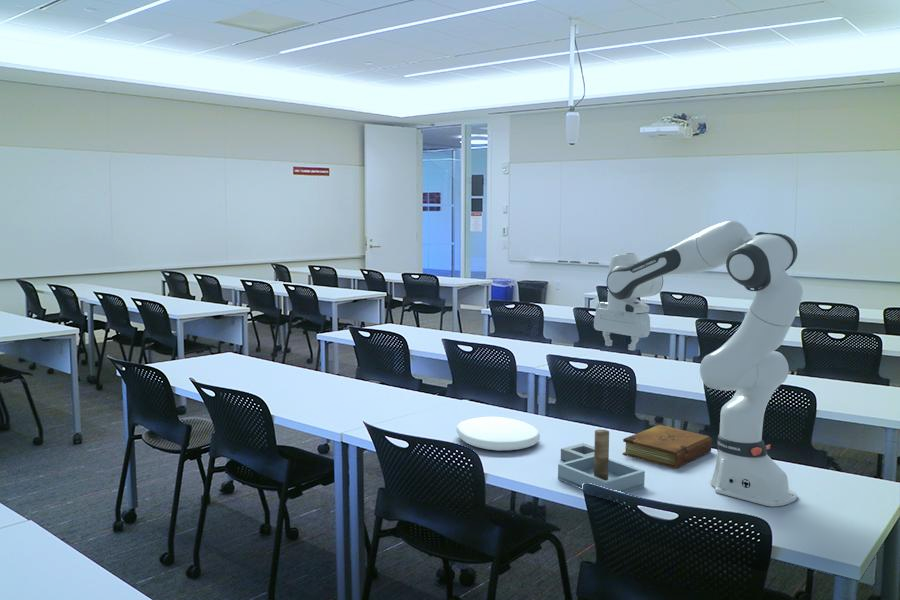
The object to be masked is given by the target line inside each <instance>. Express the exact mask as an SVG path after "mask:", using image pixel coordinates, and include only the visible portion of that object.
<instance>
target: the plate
mask: <svg viewBox="0 0 900 600" xmlns="http://www.w3.org/2000/svg"><path fill="white" fill-rule="evenodd" d="M455 429H456V431H455V432H456V433H457V435H458V437H459V438H460V439H461V440H462V441H463V442H464V443H466V444H469V445H470V446H473V447H476V448H479V449H485V450H490V451H497V452H499V451H513V450H514V451H515V450H521V449H526V448H529V447H532V446H534V445H536V444H537V443H538V442H539V441H540V437H541V436H540V432H539V431H538V429H537V428H536V427H534V426H533V425H532V424H529V423H527V422H525V421H522V420H518V419H515V418H509V417H503V416H482V417H481V416H480V417H474V418H473V417H472V418H470V419H465V420H462V421H461V422H459V423H458V424H457V426H456V428H455Z"/></svg>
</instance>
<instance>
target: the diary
mask: <svg viewBox="0 0 900 600" xmlns="http://www.w3.org/2000/svg"><path fill="white" fill-rule="evenodd" d="M712 442H713V441H712V437H710V436H709V435H707V434H706V435H705V434H701V433H696V432H694V431H693V432H692V431H688V430H684V429H683V430H682V429H679V428H676V427H671V426H666V425H662V424H658V425H655V426H652V427H650V428H648V429H645V430H642V431H640V432H638V433H635V434H632V435H630V436H627V437H624V438H623V439H622V443H625V452H622V455H623V454H624V456H627V455H628V457H630V456H631V458H634V457H635V459H638V458H639V460H642V459H643V460H642V461H645V460H646V462H650V463H653V462H654V464H657V465H661V466H664V465H665V466H664V467H669V468H673V469H678V468H680V467H682V466H684V465H686V464H688V463H691V462H693V461H694V460H696V459H699V458H701V457H702V456H704V455H706V454H708V453H711V451H712V444H713V443H712Z"/></svg>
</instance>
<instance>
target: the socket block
mask: <svg viewBox="0 0 900 600" xmlns="http://www.w3.org/2000/svg"><path fill="white" fill-rule="evenodd" d="M591 455H594V446H593V445H591V444H586V443H584V442H583V443H578V444H574V445H571V446H567V447H563V448H560V460H561V459H562V460H561V461H563V460H565V461H564V462H566V461H567V462H568V461H572V460H576V459H580V458H584V457H587V456H591Z"/></svg>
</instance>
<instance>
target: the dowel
mask: <svg viewBox="0 0 900 600" xmlns="http://www.w3.org/2000/svg"><path fill="white" fill-rule="evenodd" d="M593 447H594V476H595V477H598V478H600V479H603V480H608V464H609V459H610V458H609V457H610V431H609V430H606V429H595V431H594V446H593Z"/></svg>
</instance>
